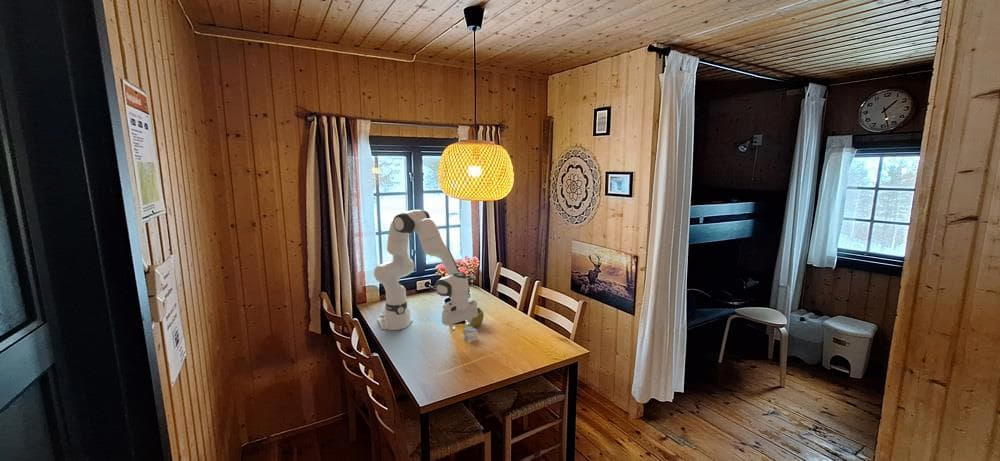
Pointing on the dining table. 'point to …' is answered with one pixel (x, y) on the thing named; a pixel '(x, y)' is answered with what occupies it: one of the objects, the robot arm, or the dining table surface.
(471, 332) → the letter cube
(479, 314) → the flower pot
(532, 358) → the dining table surface
